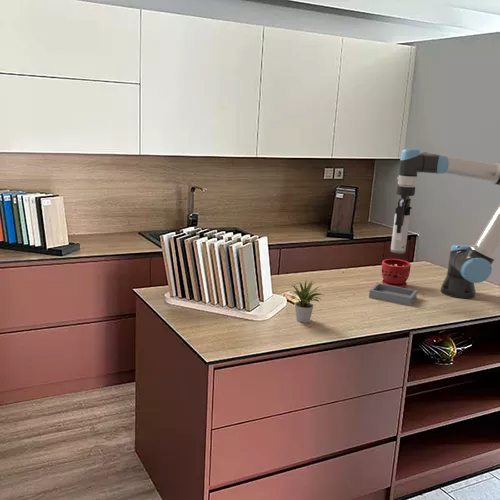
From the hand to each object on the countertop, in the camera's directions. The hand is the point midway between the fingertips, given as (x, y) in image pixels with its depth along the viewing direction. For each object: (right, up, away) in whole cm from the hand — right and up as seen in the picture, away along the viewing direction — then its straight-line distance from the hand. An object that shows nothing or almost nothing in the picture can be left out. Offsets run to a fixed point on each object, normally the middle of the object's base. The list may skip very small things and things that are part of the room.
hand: (399, 238), depth 244 cm
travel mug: (0, -6, +2) cm, 6 cm away
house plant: (-45, -32, -27) cm, 62 cm away
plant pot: (+3, -22, +24) cm, 33 cm away
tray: (-1, -26, +7) cm, 27 cm away
